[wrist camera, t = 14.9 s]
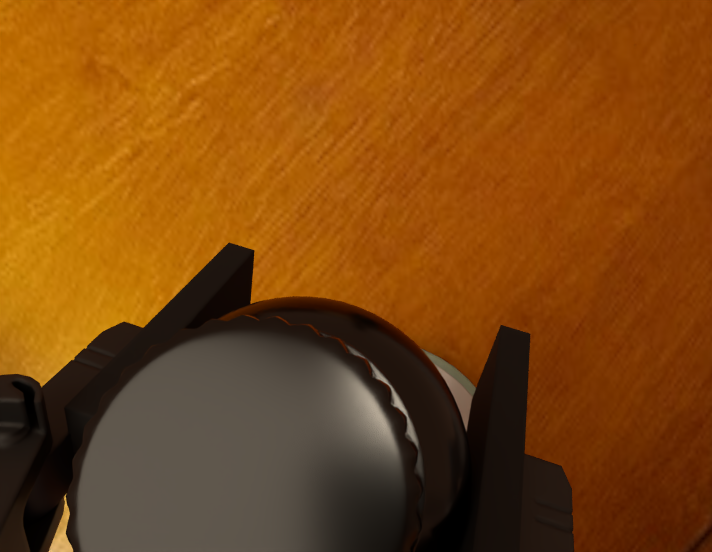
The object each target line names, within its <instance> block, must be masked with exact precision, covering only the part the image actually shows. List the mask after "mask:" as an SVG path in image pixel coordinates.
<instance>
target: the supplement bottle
mask: <svg viewBox="0 0 712 552" xmlns="http://www.w3.org/2000/svg"><path fill="white" fill-rule="evenodd" d="M72 470H73V480H72V482H71V484H70V486H69V489H68V492H67V494H66V500H67V505H68V507H69V511H70V516H69V520H68V524H67V530H66V535H67V538H68V540H69V542H70V544H71V545H72V548H73V552H459V549H460V547H461V544H462V542H463V538H464V534H465V531H466V527H467V523H468V518H469V512H470V506H471V495H472V463H471V454H470V447H469V442H468V437H467V433H466V428H465V425H464V422H463V419H462V416H461V413H460V410H459V408H458V405H457V403H456V401H455V398H454V396H453V394H452V392H451V390H450V388H449V387H448V385H447V383H446V381H445V379H444V378H443V376H442V375H441V373H440V372H439V370H438V369H437V367H436V366H435V365H434V363H433V362H432V361H431V360H430V359H429V357H428V356H427V355H426V354H425V352H424V351H423V350H422V349H421V348H420V347H419V346H418V345H417V344H416V343H415V342H414V341H413V340H411V339H410V338H409V337H408V336H407V335H405V334H404V333H403V332H402V331H401V330H399V329H398V328H396V327H395V326H393V325H392V324H390V323H389V322H388V321H386V320H384V319H382V318H381V317H379V316H377V315H375V314H373V313H371V312H369V311H367V310H364V309H362V308H359V307H357V306H354V305H351V304H348V303H344V302H341V301H336V300H331V299H327V298H318V297H298V296H293V297H282V298H274V299H269V300H264V301H259V302H256V303H252V304H249V305H246V306H243V307H240V308H238V309H235V310H233V311H230V312H228V313H226V314H224V315H222V316H220V317H218V318H217V319H210V320H209V321H207V322H205V323H204V324H203V325H202V326H200V327H198V328H197V329H181V330H179V331H178V332H177V333H176V334H174V335H173V336H172V337H171V338H170V339H169V340H168V341H167V342H164V343H160V344H156V345H153V346H151V347H150V348H149V349H148V350H147V352H146V353H145V355H144V356H143V358H142V359H141V360H140V361H138V362H136V363H134V364H132V365H130V366H128V367H126V368H125V369H124V370H123V372H122V374H121V376H120V379H119V381H118V383H117V384H116V385H115V386H114V387H112V388H111V389H109V390H108V391H107V392H106V393H104V394H103V395H102V397H101V400H100V403H99V408H98V411H97V413H96V414H95V415H94V416H93V417H92V418H91V419H90V420H89V421H88V423H87V424H86V425H85V426H84V432H83V441H82V445H81V447H80V448H79V450H78V451H77V453H76V454H75V456H74V458H73V459H72Z"/></svg>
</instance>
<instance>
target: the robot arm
mask: <svg viewBox="0 0 712 552" xmlns="http://www.w3.org/2000/svg"><path fill="white" fill-rule="evenodd" d="M253 262H254V250H252V249H248V248H245V247H242V246H238V245H235V244H232V243H228V244H227V245H226V246H225V247H224V248H223V249H222V250H221V251H220V252H219V253H218V254H217V255H216V256H215V257H214V258H213V259H212V260H211V261H210V262H209V263H208V264H207V265H206V266H205V267H204V268H203V269H202V270H201V271H200V272H199V273H198V274H197V275H196V276H195V277H194V278H193V279H192V280H191V281H190V282H189V283H188V284H187V285H186V286H185V287H184V288H183V289H182V290H181V291H180V292H179V293H178V294H177V295H176V296H175V297H174V298H173V299H172V300H171V301H170V302H169V303H168V304H167V305H166V306H165V307H164V308H163V309H162V310H161V311H160V312H159V313H158V314H157V315H156V316H155V317H154V318H153V319H152V320H151V321H150V322H149V323H148V324H147V325H146V326H145V327H144V328H142V327H139V326H136V325H133V324H130V323H127V322H122V323H120V324H118V325H116V326H114V327H111V328H109V329H107V330H105V331H103V332H102V333H101V334H100V335H98V336H97V337H96V338H95V339H94V340H93V341H92V342H91V343H90V344H89V345H88V346H87V348H86V349H85V348H84V349H83V350H82V351H81V352H80V353H79V354H78V355H77V356H75V359H74V360H71V361H70V362H69V363H68V364H67V365H66V366H65V367H63V368H62V369H61V370H60V371H59V372H58V373H57V374H56V375H55V376H54V377H53V378H51V379H50V380H49V381H48V382H47V383H46V384H45V385H44V386H43V387H42V388H41V386H40V383H39V382H37V381H36V380H34V379H33V378H31V377H28V376H24V375H19V374H11V375H0V552H48V551H49V549H50V546H51V543H52V541H53V538H54V536H55V533H56V530H57V528H58V525H59V523H60V520H61V518H62V515H63V511H64V505H65V501H64V496H65V495H66V493H67V492H68V489H69V486H70V484H71V482H72V480H73V470H72V459H73V458H74V456H75V454H76V453H77V451H78V450H79V448H80V447H81V445H82V441H83V432H84V426H85V425H86V424H87V423H88V421H89V420H90V419H91V418H92V417H93V416H94V415H95V414H96V413H97V411H98V408H99V403H100V400H101V397H102V395H103V394H104V393H106V392H107V391H108V390H109V389H111V388H112V387H114V386H115V385H116V384H117V383H118V381H119V379H120V376H121V374H122V372H123V370H124V369H125V368H126V367H128V366H130V365H132V364H134V363H136V362H138V361H140V360H141V359H142V358H143V356H144V355H145V353H146V352H147V350H148V349H149V348H150V347H151V346H153V345H156V344H160V343H164V342H167V341H168V340H169V339H170V338H171V337H172V336H173V335H174V334H176V333H177V332H178V331H179V330H181V329H197V328H198V327H200V326H202V325H203V324H204V323H205V322H207V321H209V320H210V319H217V318H218V317H220V316H222V315H224V314H226V313H228V312H230V311H233V310H235V309H238V308H240V307H243V306H246V305H249V304H250V301H251V288H252V275H253ZM529 351H530V334H529V333H526V332H523V331H519V330H516V329H513V328H509V327H506V326H503V325H501V326H500V329H499V331H498V334H497V336H496V339H495V341H494V344H493V347H492V349H491V352H490V354H489V357H488V359H487V362H486V364H485V367H484V370H483V372H482V375H481V377H480V380H479V382H478V385H477V388H476V390H475V393H474V395H473V398H472V401H471V407H470V414H469V420H468V426H467V432H466V433H467V437H468V442H469V447H470V454H471V463H472V495H471V506H470V512H469V518H468V523H467V527H466V531H465V534H464V538H463V542H462V544H461V547H460V549H459V552H574V536H573V534H572V531H573V515H572V511H573V509H572V488H571V486H570V484H569V482H568V479H567V477H566V475H565V473H564V471H563V469H562V466H560V465H557V464H554V463H551V462H548V461H545V460H542V459H539V458H536V457H533V456H530V455H527V454H524V450H525V431H526V411H527V391H528V371H529Z"/></svg>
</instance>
